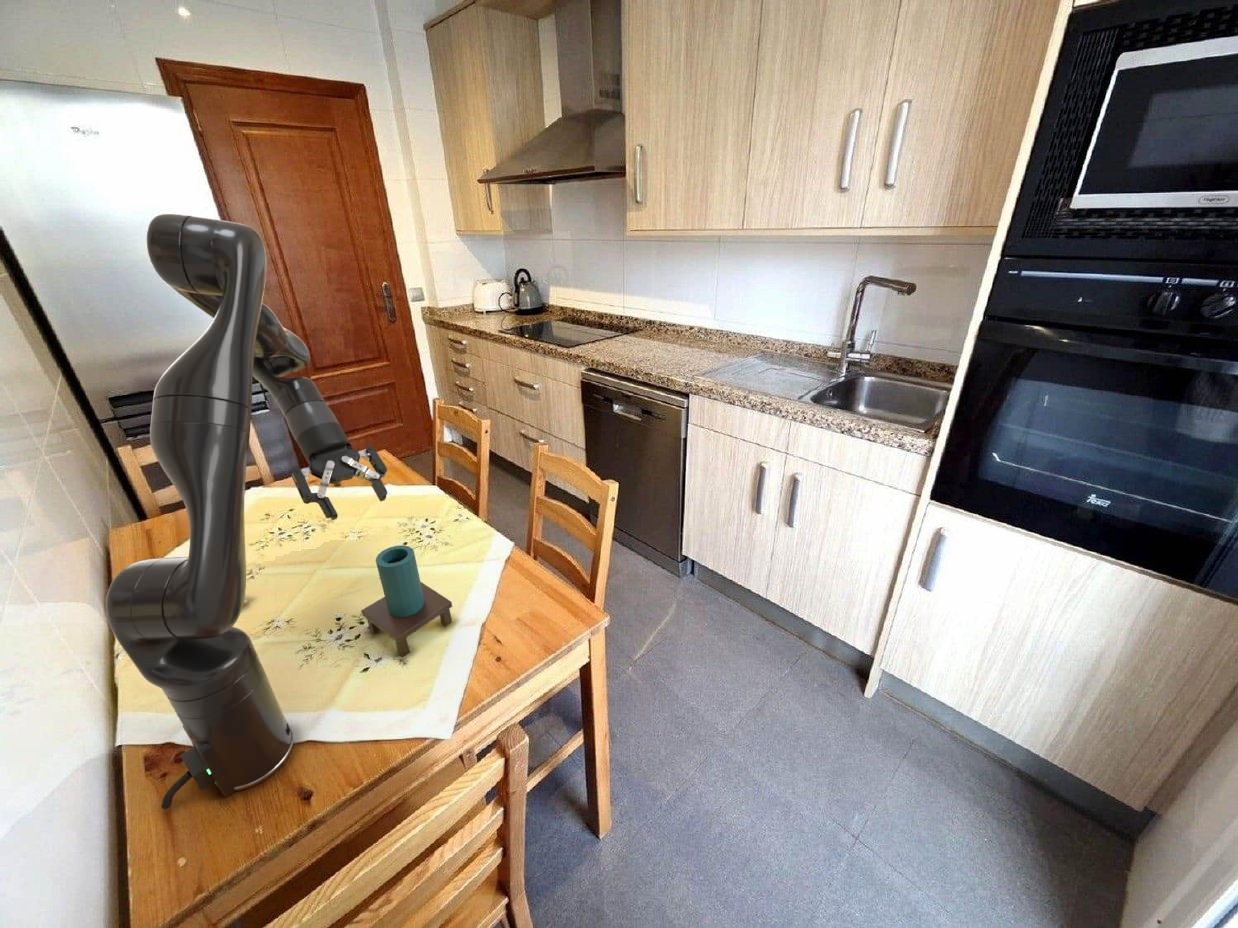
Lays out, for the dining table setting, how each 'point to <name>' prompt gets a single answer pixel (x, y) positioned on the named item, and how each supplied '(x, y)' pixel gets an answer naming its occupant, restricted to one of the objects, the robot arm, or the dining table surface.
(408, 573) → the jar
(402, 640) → the stand
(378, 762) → the dining table surface
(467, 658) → the dining table surface
